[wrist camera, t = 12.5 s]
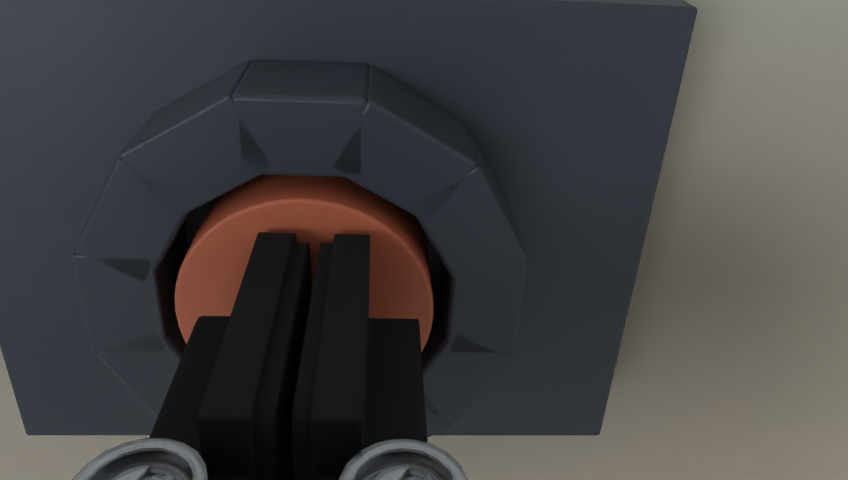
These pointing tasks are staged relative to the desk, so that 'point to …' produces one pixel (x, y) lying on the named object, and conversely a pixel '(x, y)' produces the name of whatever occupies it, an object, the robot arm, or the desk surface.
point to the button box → (338, 157)
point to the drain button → (312, 223)
